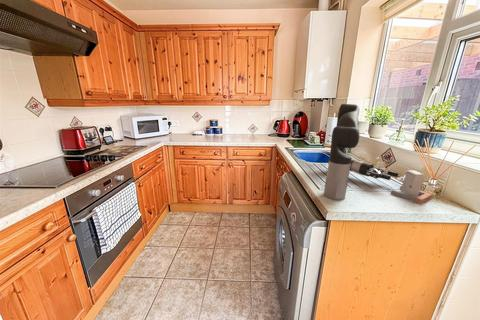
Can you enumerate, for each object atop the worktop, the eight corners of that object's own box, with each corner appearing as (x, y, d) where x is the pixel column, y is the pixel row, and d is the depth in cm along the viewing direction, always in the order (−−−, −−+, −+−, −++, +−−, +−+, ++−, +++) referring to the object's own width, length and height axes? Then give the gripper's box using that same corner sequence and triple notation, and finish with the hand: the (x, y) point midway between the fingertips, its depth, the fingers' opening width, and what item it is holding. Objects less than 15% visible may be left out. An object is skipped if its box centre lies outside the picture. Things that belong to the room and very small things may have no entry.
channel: (390, 193, 99) (391, 190, 98) (401, 188, 105) (402, 185, 104) (420, 203, 89) (422, 199, 88) (431, 197, 95) (432, 194, 94)
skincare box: (399, 192, 101) (405, 169, 97) (409, 192, 100) (415, 170, 97) (408, 198, 95) (415, 174, 91) (418, 198, 94) (425, 174, 91)
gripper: (356, 163, 111) (389, 172, 97) (369, 160, 118) (402, 167, 104) (354, 176, 113) (386, 186, 99) (367, 172, 120) (398, 180, 106)
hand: (394, 176), depth 102 cm, fingers open, 8 cm apart
